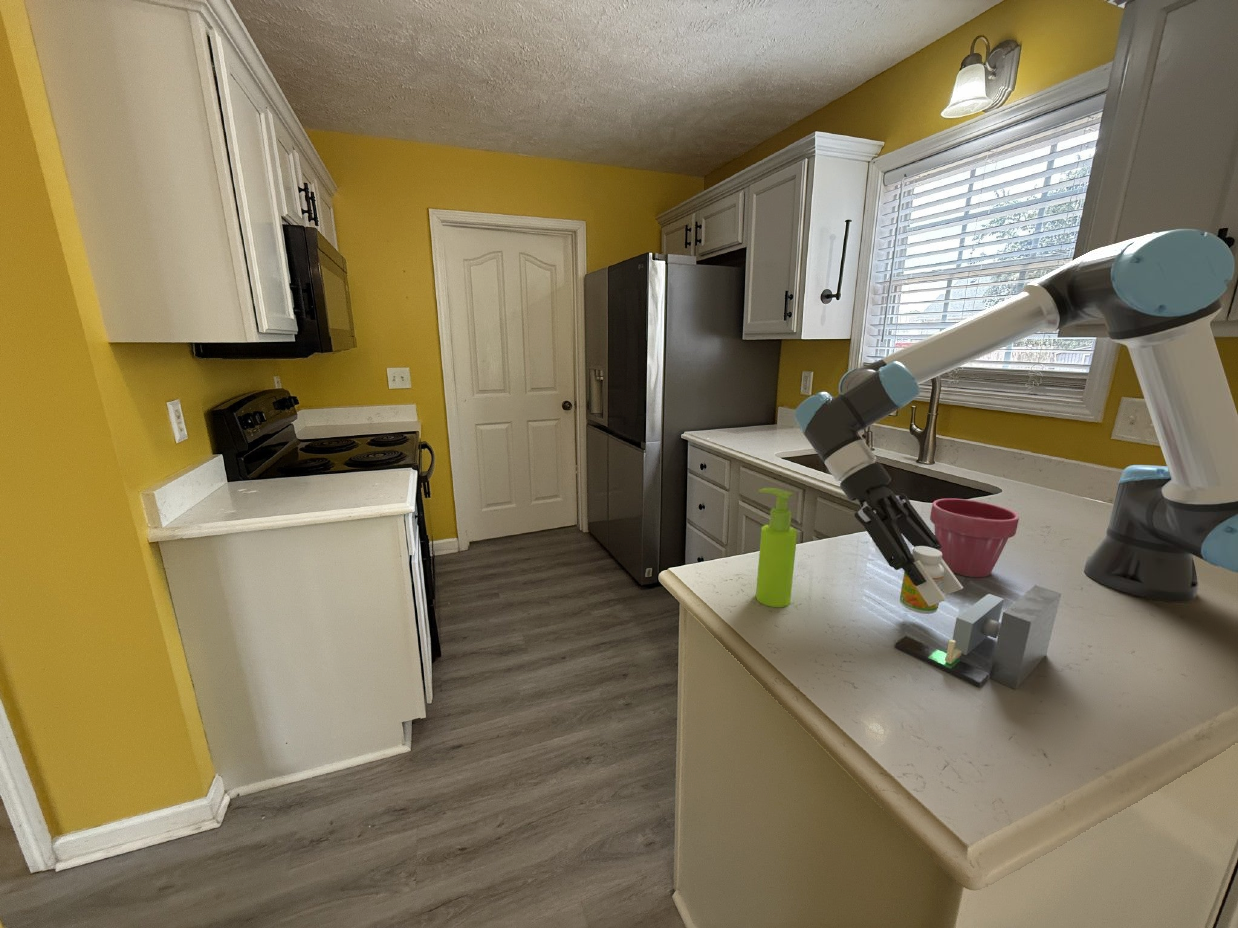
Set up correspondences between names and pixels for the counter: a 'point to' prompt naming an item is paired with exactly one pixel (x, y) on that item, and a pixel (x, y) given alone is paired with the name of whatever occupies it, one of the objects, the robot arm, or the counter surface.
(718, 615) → the counter surface
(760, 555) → the soap dispenser
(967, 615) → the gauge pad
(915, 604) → the supplement bottle
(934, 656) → the frame
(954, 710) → the counter surface
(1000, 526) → the plant pot
